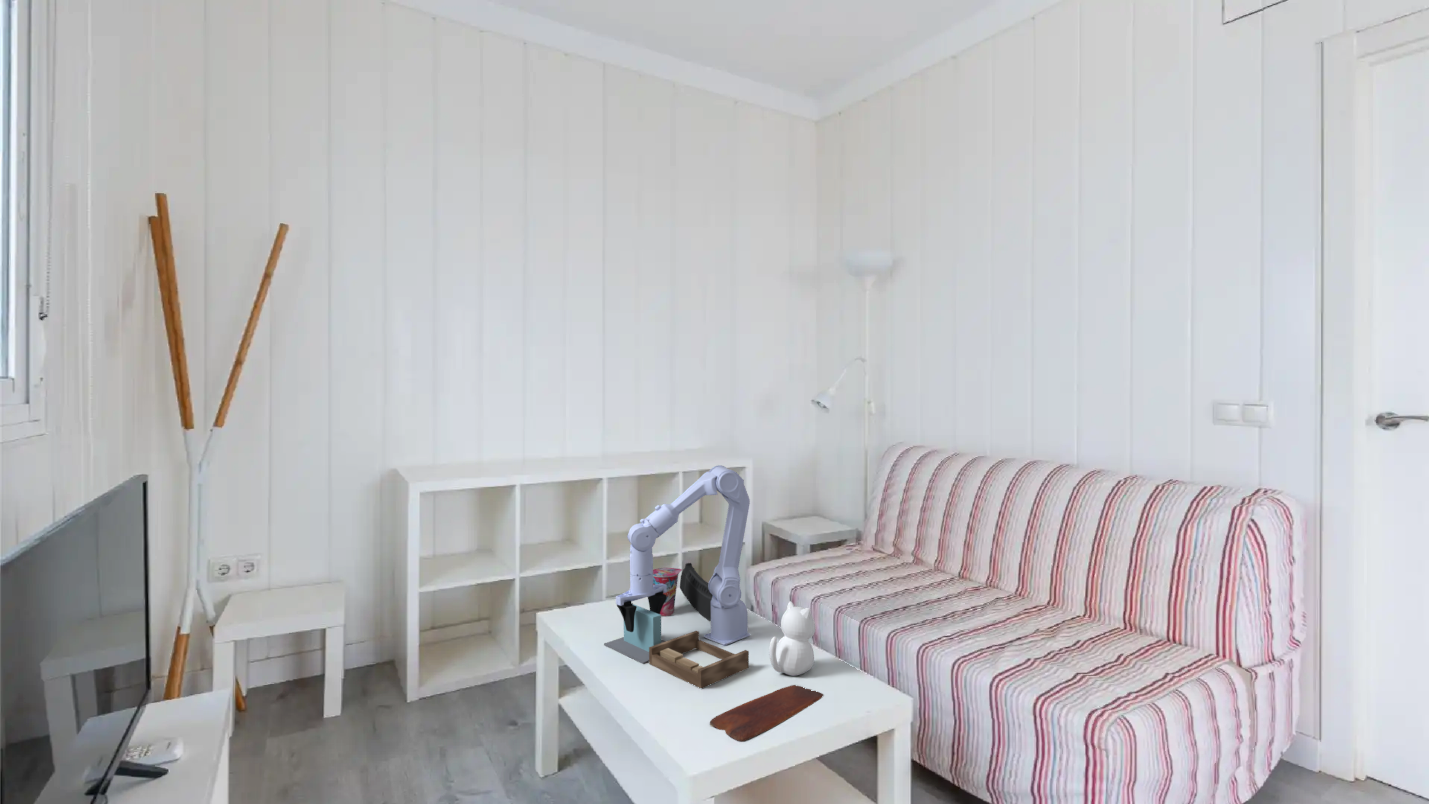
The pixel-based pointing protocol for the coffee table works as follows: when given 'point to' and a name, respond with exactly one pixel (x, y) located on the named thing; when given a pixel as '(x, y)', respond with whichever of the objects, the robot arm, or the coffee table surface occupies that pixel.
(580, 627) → the coffee table surface
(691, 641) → the rack
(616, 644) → the mat
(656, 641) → the teal rectangular block
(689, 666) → the offcuts
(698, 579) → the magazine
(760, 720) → the wooden tablet
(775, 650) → the cat figurine
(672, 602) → the cup
